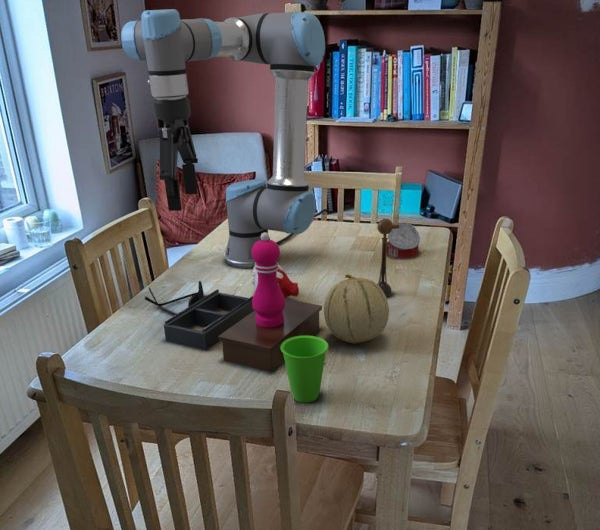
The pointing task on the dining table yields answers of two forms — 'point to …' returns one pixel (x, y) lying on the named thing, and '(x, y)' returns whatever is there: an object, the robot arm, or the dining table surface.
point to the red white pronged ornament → (281, 283)
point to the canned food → (403, 242)
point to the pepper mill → (267, 284)
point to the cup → (304, 365)
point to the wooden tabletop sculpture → (385, 228)
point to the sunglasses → (193, 299)
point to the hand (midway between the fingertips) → (183, 201)
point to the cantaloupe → (356, 310)
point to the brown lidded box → (268, 336)
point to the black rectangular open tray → (207, 319)
